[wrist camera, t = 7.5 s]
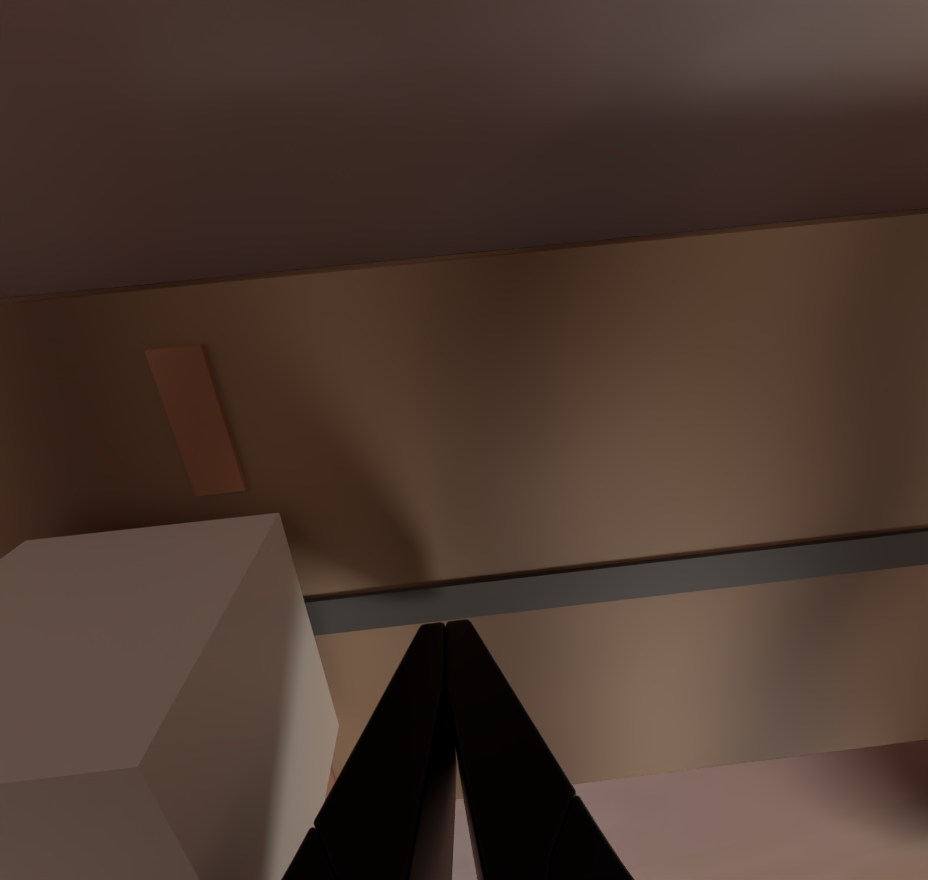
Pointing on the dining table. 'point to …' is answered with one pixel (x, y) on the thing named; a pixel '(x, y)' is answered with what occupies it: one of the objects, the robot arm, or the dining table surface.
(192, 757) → the fader knob
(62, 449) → the brown flat block
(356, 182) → the dining table surface
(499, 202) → the dining table surface
